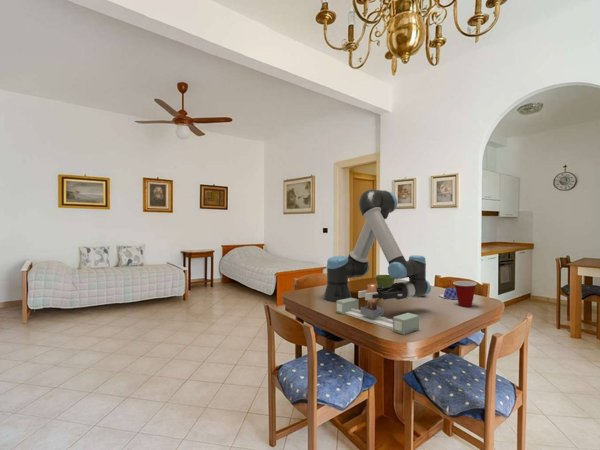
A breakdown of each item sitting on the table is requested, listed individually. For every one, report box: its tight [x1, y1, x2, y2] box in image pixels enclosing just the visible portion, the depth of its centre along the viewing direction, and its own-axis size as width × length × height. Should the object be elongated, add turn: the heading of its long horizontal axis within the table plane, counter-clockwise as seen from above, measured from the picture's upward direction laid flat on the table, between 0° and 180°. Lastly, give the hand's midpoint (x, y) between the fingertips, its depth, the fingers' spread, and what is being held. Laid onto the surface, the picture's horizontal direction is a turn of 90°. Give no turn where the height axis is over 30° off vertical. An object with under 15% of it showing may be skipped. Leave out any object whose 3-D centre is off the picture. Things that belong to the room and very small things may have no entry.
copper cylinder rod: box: [360, 283, 385, 318], centre depth 135 cm, size 7×7×13 cm
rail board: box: [335, 297, 420, 336], centre depth 134 cm, size 37×10×6 cm, turn 37°
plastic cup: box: [452, 280, 478, 308], centre depth 158 cm, size 11×11×12 cm
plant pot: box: [374, 274, 395, 288], centre depth 181 cm, size 12×12×11 cm
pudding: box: [439, 287, 458, 300], centre depth 176 cm, size 12×12×5 cm
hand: (362, 295), depth 133 cm, fingers closed on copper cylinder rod, 4 cm apart
